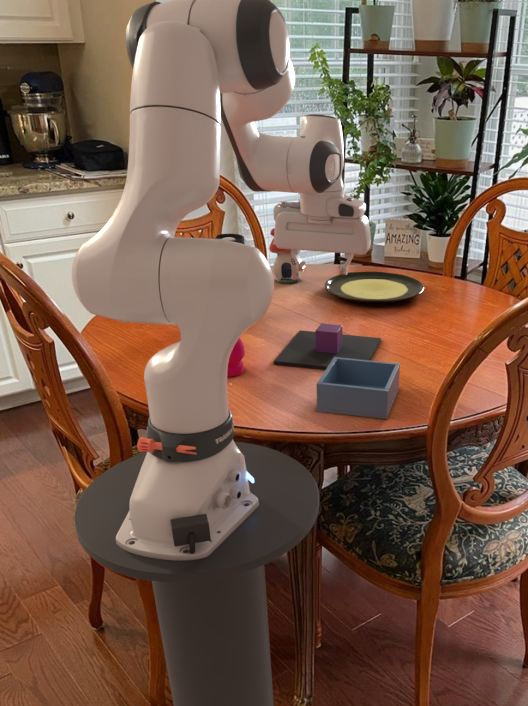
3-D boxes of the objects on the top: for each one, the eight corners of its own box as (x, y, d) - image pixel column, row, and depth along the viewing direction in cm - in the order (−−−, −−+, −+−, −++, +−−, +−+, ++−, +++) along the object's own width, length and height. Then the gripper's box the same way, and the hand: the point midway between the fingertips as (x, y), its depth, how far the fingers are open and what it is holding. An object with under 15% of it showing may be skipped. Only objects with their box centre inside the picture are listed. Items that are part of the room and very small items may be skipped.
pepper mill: (234, 362, 156) (227, 270, 146) (252, 372, 151) (246, 278, 141) (205, 369, 152) (196, 276, 142) (222, 380, 148) (214, 285, 137)
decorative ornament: (269, 283, 206) (267, 229, 199) (273, 276, 212) (270, 224, 204) (301, 284, 206) (300, 230, 198) (304, 277, 212) (302, 225, 204)
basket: (386, 419, 134) (387, 391, 131) (316, 411, 136) (316, 383, 133) (398, 390, 145) (400, 363, 142) (334, 383, 148) (334, 356, 145)
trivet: (363, 373, 152) (363, 370, 152) (273, 364, 155) (273, 361, 155) (380, 341, 169) (381, 337, 168) (299, 333, 172) (299, 330, 172)
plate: (303, 290, 201) (303, 282, 199) (375, 273, 217) (376, 265, 216) (371, 316, 183) (371, 307, 182) (444, 295, 199) (445, 287, 198)
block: (337, 354, 159) (337, 332, 156) (315, 351, 160) (315, 330, 157) (342, 346, 163) (342, 325, 161) (321, 344, 164) (321, 323, 162)
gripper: (267, 203, 143) (271, 272, 151) (366, 209, 140) (365, 280, 147) (277, 198, 149) (280, 264, 156) (373, 204, 145) (371, 272, 152)
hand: (322, 272), depth 151 cm, fingers open, 8 cm apart
